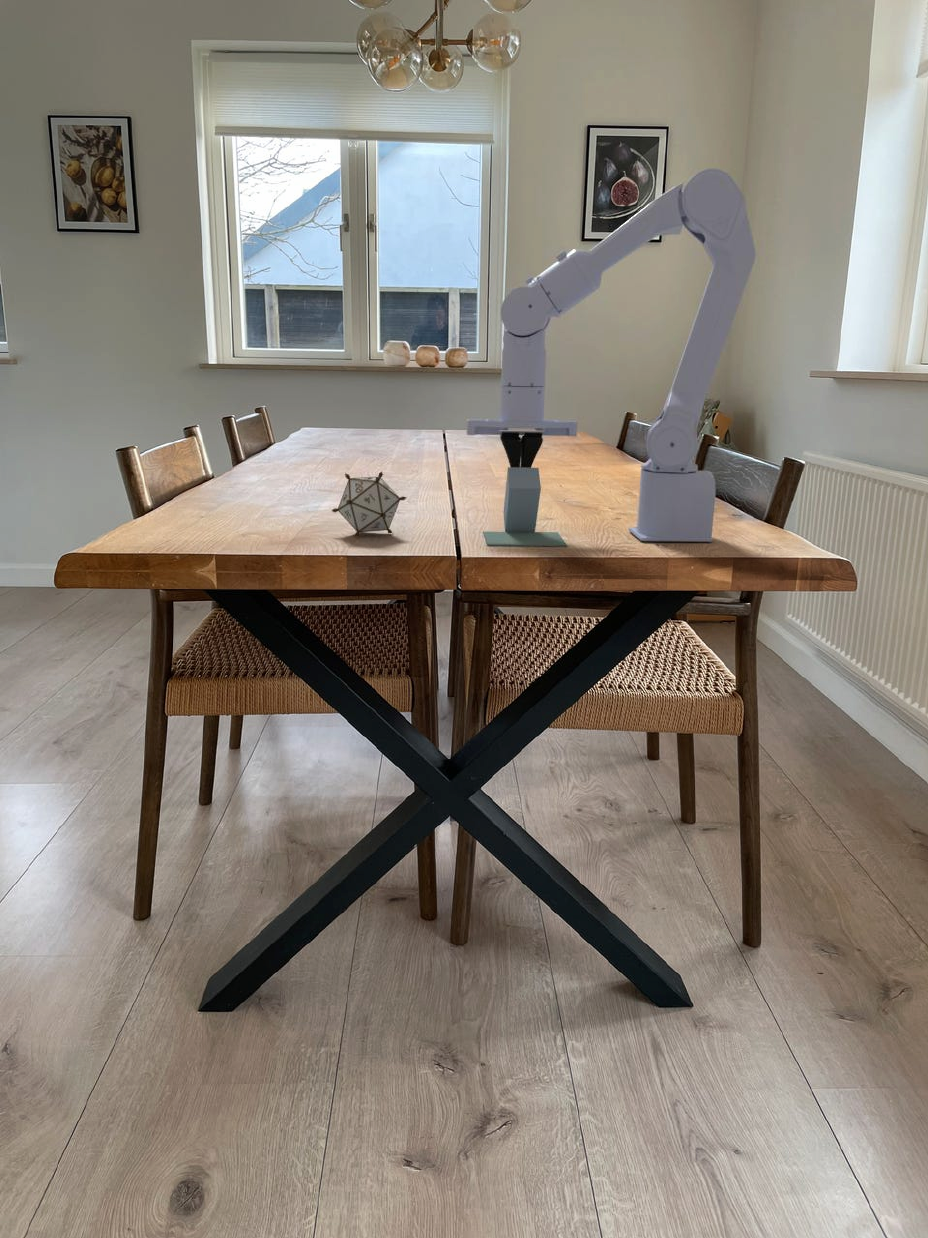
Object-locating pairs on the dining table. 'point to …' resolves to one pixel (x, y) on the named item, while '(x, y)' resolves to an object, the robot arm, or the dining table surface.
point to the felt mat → (524, 539)
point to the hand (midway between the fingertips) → (519, 490)
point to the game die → (368, 504)
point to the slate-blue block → (521, 499)
